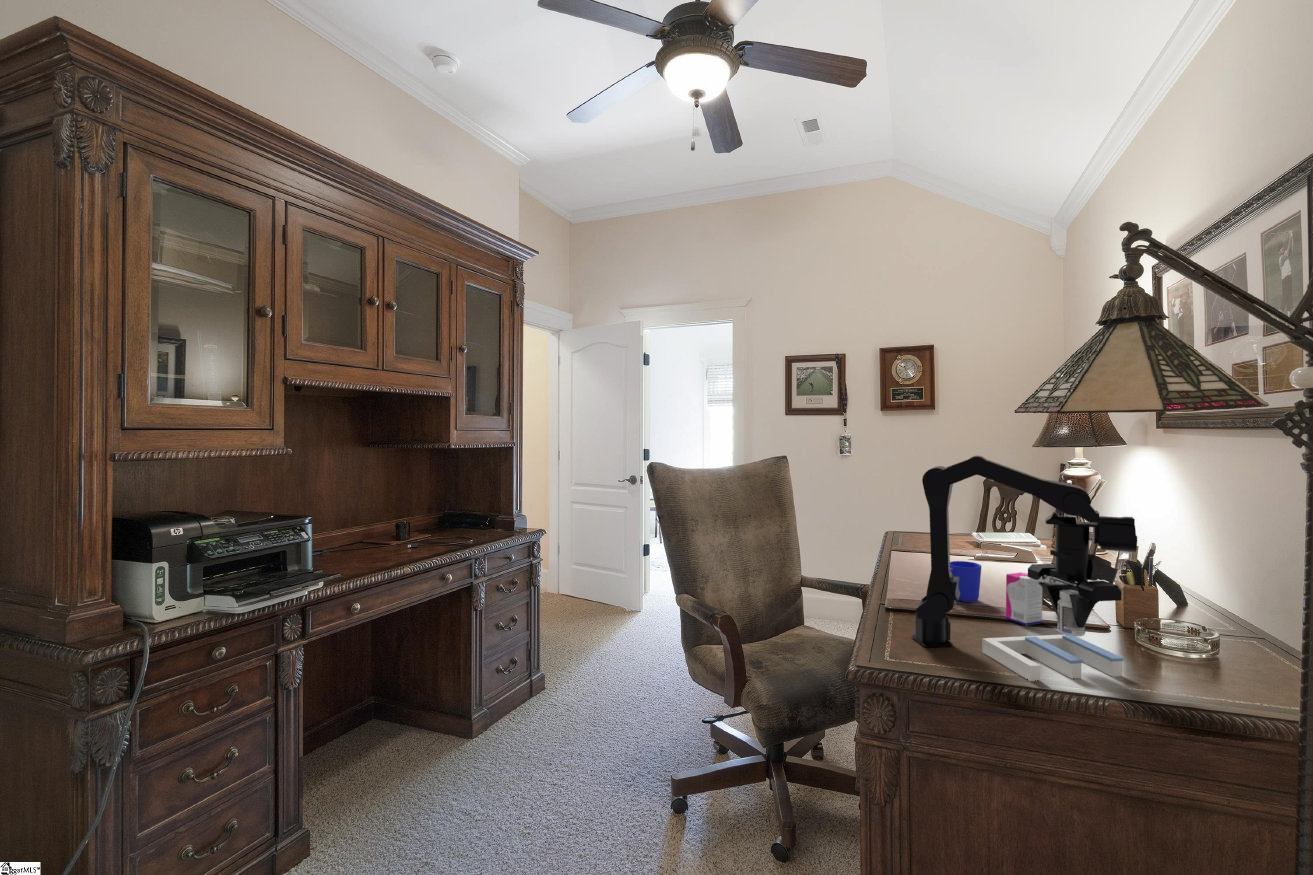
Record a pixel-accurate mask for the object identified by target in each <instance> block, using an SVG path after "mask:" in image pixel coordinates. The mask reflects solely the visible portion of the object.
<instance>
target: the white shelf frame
mask: <svg viewBox="0 0 1313 875" xmlns="http://www.w3.org/2000/svg"><path fill="white" fill-rule="evenodd" d="M981 642H982V646H981V647H982V648H981V650H982V652H981V653H982V654H984V655H986V656H988V657H989V658H991V659H993V660H994V661H996V662H998V663H999V664H1001V665H1003V666H1005V667H1006V668H1008V669H1010V670H1011V671H1012V672H1015V673H1016V674H1017V675H1019V676H1021V677H1022V678H1024V679H1026V680H1027V679H1028V680H1027V681H1029V682H1040V681H1041V665H1040V664H1039V663H1037V662H1035V661H1033V660H1031V659H1030V658H1028V657H1026V656H1024V655H1027V656H1029V657H1031V658H1033V659H1034V660H1036V661H1038V662H1040V663H1042V664H1044V665H1045V666H1048V667H1050V668H1051V669H1053V670H1054V671H1056V672H1058V673H1060V674H1062V675H1063V676H1066V677H1067V678H1069V679H1071V680H1077V679H1076V678H1081V679H1082V664H1083V663H1085V664H1086V665H1088V666H1090V667H1093V668H1094V669H1096V670H1098V671H1100V672H1102V673H1104V674H1106V675H1109V677H1110V676H1111V677H1113V678H1114V677H1115V678H1116V677H1123V662H1124V657H1122V656H1119V654H1116V653H1113V652H1111V651H1109V650H1107V649H1104V648H1102V647H1100V646H1098V645H1096V644H1094V643H1091V642H1089V641H1087V640H1085V639H1083V638H1080V637H1079V636H1069V635H1065V634H1049V635H1047V634H1046V635H1027V636H1026V635H1025V636H1009V637H1008V636H1007V637H1005V636H1004V637H987V638H986V637H985V638H983V637H982V640H981ZM1073 678H1075V679H1073ZM1035 680H1036V681H1035ZM1037 680H1039V681H1037Z"/></svg>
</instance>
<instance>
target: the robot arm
mask: <svg viewBox="0 0 1313 875" xmlns="http://www.w3.org/2000/svg"><path fill="white" fill-rule="evenodd" d="M974 476H980V477H983V478H985V479H988V480H990V481H994V482H995V483H998V484H1002V485H1004V486H1007V487H1009V488H1012V489H1016V490H1017V491H1019V492H1020V491H1021V492H1024V493H1026V494H1029V495H1031V496H1034V497H1035V498H1037V499H1040V500H1041V501H1043V502H1044V503H1046V504H1048V505H1049V506H1050V507H1052V508H1054V509H1056V510H1058V511H1060V512H1062V513H1064V514H1065V516H1064V515H1059V514H1058V513H1057V512H1056V511H1052V514H1051V515H1049V516H1048V517H1046V518H1045V519H1044V521H1045V524H1046V525H1055V542H1054V543H1055V547H1054V548H1055V549H1050V550H1049V553H1050V556H1053V557H1054V558H1055V560H1054V564H1052V563H1035V564H1034V563H1032V564H1031V565H1029V567H1027V574H1028V577H1029V578H1032V579H1035V580H1039V579H1040V578H1041V577H1042V582H1039V585H1041V587H1042V591H1043V592H1044V593H1045V595H1046V597H1047V599H1048V600H1049V602H1050V604H1051V606H1052V608H1053V610H1054V612H1055V614H1056V616H1057V617H1058V600H1060V599H1061V598H1060V591H1061V590H1072V588H1076V589H1077V591H1078V594H1069V596H1070V600H1071V604H1072V608H1073V612H1074V616H1075V620H1076V624H1077V626H1078V627H1079V628H1083V627H1084V626H1085V627H1086V624H1087V622H1088V619H1089V617H1090V615H1091V613H1092V611H1093V609H1094V607H1095V606H1096V604H1098V603H1099V602H1112V601H1113V602H1114V601H1122V599H1123V596H1122V595H1123V590H1122V588H1121V587H1120V586H1119V585H1117V584H1114V582H1115V579H1116V578H1117V575H1118V571H1119V569H1117V568H1115V567H1112V566H1109V565H1107V564H1103V563H1101V562H1099V561H1097V559H1096V558H1097V557H1096V554H1095V553H1091V552H1090V528H1092V543H1093V545H1097V546H1098V547H1099V550H1100V551H1101V550H1103V551H1114V552H1126V553H1136V552H1137V548H1138V536H1137V532H1136V525H1135V524H1136V522H1135V520H1136V519H1135V518H1134V517H1133V516H1119V517H1118V516H1106V515H1105V516H1104V515H1101V516H1100V512H1099V511H1098V509H1097V510H1095V509H1094V507H1092V505H1091V504H1092V500H1091V496H1090V494H1089V493H1088V492H1087V491H1086V489H1084V488H1083V487H1082V486H1080V485H1077V484H1073V483H1067V482H1063V481H1056V480H1050V479H1044V478H1041V477H1038V476H1035V475H1032V474H1029V473H1027V472H1023V471H1021V470H1018V469H1015V468H1013V467H1010V466H1006V465H1004V464H1001V463H998V462H996V461H993V460H990V459H987V458H985V457H984V456H982V455H973V456H971V457H970V458H968V459H966V460H963V461H959V462H958V463H954V464H952V465H949V466H946V467H945V466H941V465H938V466H933V467H932V468H930V469H928V470H927V471H925V472H924V474H923V475H922V479H921V482H922V487H923V492H924V496H925V499H926V501H927V505H928V510H929V511H928V512H929V538H930V540H929V541H930V545H929V546H930V572H929V573H930V574H929V578H928V583H927V588H926V595H925V596H924V597H923V598H921V599H920V601H919V602H918V604H917V606H916V608H915V610H914V611H915V619H914V620H915V622H914V623H915V628H914V629H915V630H914V631H915V634H912V635H911V639H914V640H915V641H916V642H918V643H919V644H920V645H922V646H923V647H925V648H934V647H935V648H937V647H939V648H941V647H953V646H954V644H953V642H951V640H952V639H951V628H952V627H951V625H952V622H950V620H949V619H950V616H948V615H947V613H950V611H952V610H953V608H954V607H955V604H956V602H959V601H958V598H959V596H960V591H959V588H958V584H959V577H953V575H952V572H951V569H950V562H951V552H950V549H951V548H950V547H951V546H950V519H949V518H950V517H949V515H950V514H949V506H950V501H951V498H952V491H953V486H954V484H956V483H959V482H962V481H963V480H966V479H970V478H971V477H974ZM1077 516H1079V517H1080V518H1082V519H1084V520H1085V521H1080V520H1077Z"/></svg>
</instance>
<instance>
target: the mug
mask: <svg viewBox="0 0 1313 875" xmlns="http://www.w3.org/2000/svg"><path fill="white" fill-rule="evenodd" d="M950 569H951V572H952V575H953V577H959V584H958V588H959V591H960V596H959V598H958V601H957V602H960V601H962V602H961V603H967V602H971V603H976V602H977V601H978V600H979V597H980V587H981V575H982V565H981V564H979V563H977V562H973V561H972V562H971V561H963V560H954V561H950Z"/></svg>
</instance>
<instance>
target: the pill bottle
mask: <svg viewBox="0 0 1313 875" xmlns="http://www.w3.org/2000/svg"><path fill="white" fill-rule="evenodd" d="M1069 594H1078V590H1074V589H1073V590H1072V589H1070V590H1061V591H1060V598H1061V599H1060V600H1058V616H1057V621H1056V622H1057V632H1059V633H1061V635H1069V636H1076V637H1084V636H1085V634H1086V625H1085V626H1084V627H1083V628H1079V627H1078V626H1077V624H1076V620H1075V616H1074V612H1073V608H1072V604H1071V600H1070V596H1069Z"/></svg>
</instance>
